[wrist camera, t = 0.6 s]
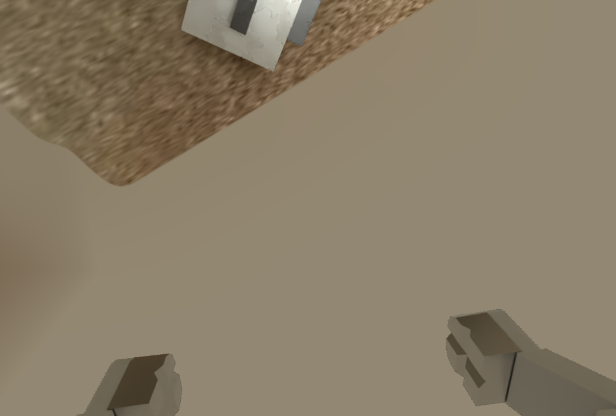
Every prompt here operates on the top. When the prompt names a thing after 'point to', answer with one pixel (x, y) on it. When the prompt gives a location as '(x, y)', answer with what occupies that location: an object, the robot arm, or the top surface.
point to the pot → (303, 21)
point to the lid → (243, 26)
